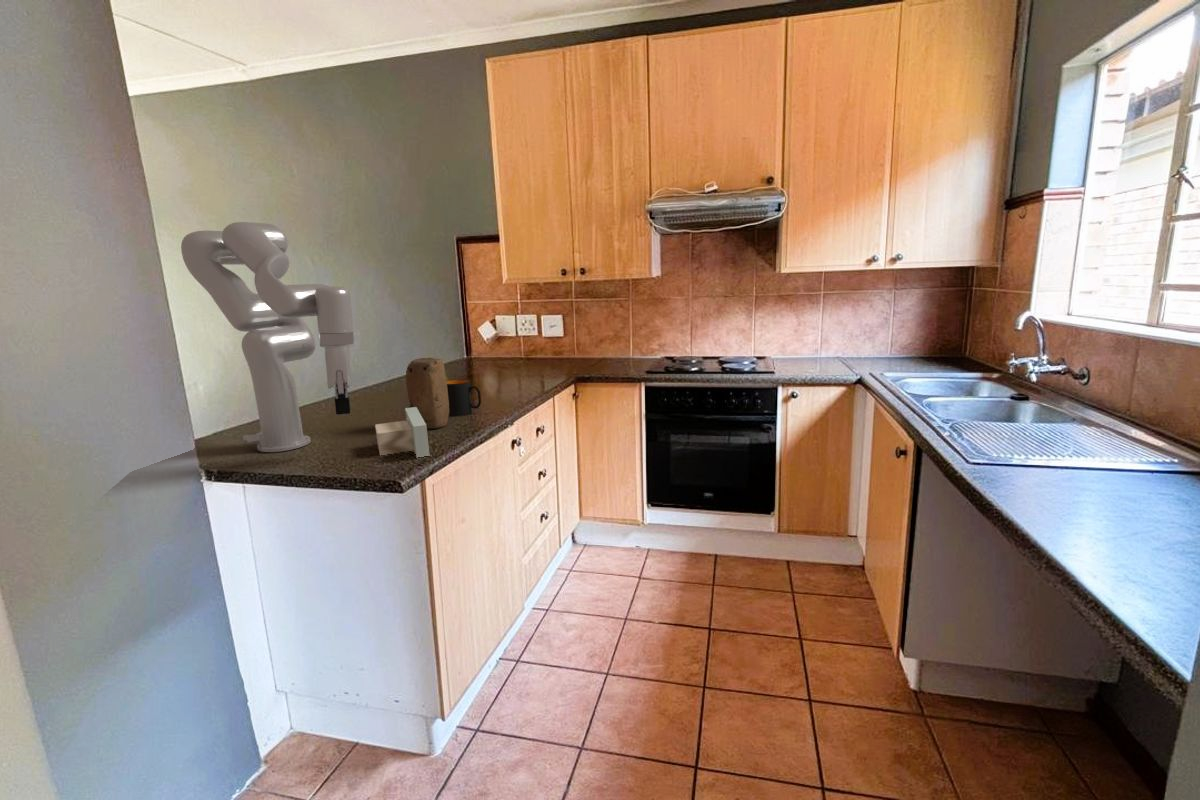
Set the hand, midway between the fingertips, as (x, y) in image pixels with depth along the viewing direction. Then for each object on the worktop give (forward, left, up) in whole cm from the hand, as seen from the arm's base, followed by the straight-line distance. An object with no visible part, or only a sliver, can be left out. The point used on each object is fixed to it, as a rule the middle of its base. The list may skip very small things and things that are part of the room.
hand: (343, 413), depth 139 cm
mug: (+34, +29, -11) cm, 46 cm away
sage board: (+17, -1, -11) cm, 20 cm away
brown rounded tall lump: (+22, +18, -11) cm, 30 cm away
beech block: (+11, 0, -11) cm, 16 cm away
